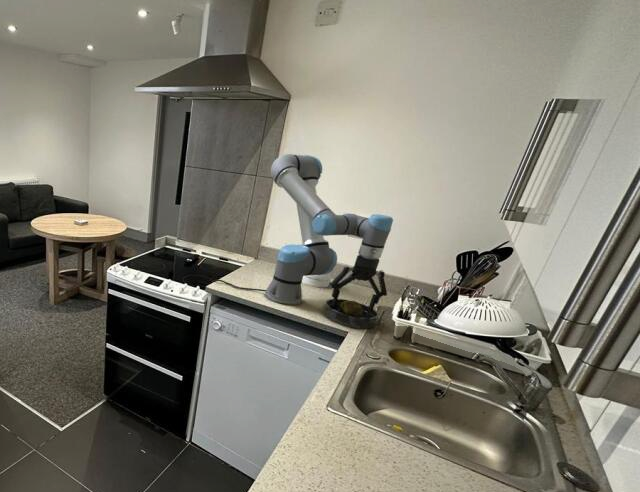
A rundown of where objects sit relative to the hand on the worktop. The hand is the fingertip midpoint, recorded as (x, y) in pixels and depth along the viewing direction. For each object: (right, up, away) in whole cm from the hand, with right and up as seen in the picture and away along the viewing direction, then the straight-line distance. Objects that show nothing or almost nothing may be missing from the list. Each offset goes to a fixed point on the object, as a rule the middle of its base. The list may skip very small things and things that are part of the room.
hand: (351, 307), depth 156 cm
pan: (0, -4, +2) cm, 5 cm away
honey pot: (+4, +12, +41) cm, 43 cm away
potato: (-1, -4, +2) cm, 4 cm away
